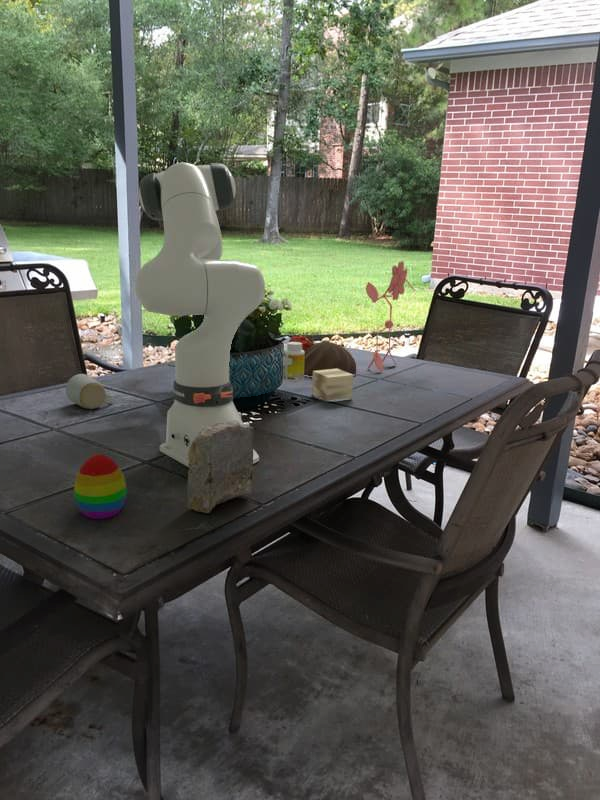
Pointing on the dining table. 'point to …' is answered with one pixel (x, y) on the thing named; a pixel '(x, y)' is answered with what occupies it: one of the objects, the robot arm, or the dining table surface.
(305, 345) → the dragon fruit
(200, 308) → the robot arm
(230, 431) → the geological specimen
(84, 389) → the ceramic mug
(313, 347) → the decorative dome
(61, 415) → the dining table surface
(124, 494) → the decorative egg
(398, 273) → the figurine
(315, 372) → the beech block
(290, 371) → the supplement bottle
